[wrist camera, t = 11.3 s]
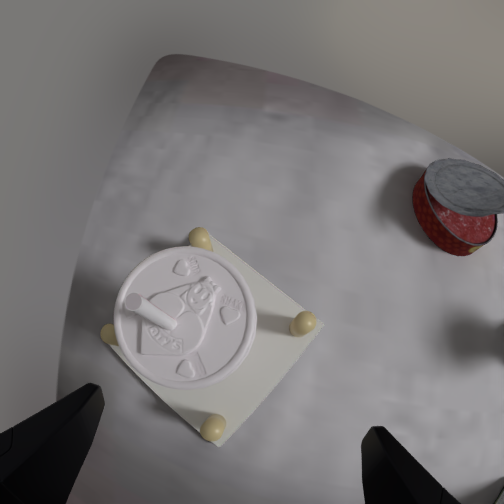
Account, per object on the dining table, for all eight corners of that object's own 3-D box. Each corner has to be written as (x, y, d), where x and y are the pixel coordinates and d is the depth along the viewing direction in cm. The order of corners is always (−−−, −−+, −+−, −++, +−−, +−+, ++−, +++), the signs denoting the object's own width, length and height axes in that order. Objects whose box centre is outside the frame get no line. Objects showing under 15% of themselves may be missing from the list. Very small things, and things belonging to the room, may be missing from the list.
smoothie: (150, 337, 21) (30, 286, 8) (210, 278, 23) (162, 159, 10) (211, 399, 20) (147, 446, 7) (273, 336, 21) (309, 283, 8)
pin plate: (220, 444, 19) (214, 459, 15) (109, 340, 22) (85, 333, 18) (321, 326, 23) (335, 317, 19) (205, 234, 25) (198, 211, 22)
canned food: (411, 262, 30) (412, 225, 21) (411, 182, 32) (405, 127, 24) (504, 266, 24) (534, 230, 16) (495, 184, 26) (511, 131, 18)
